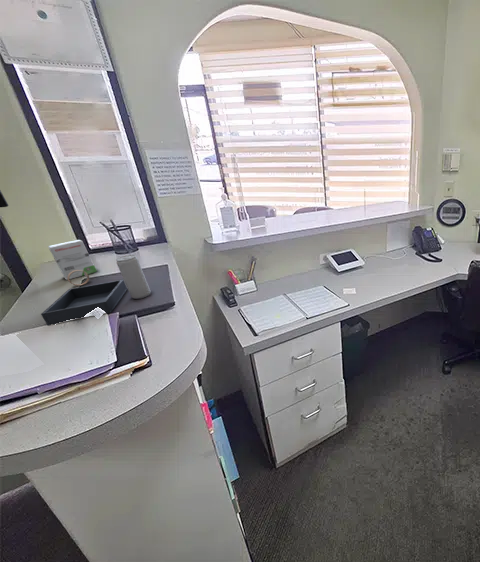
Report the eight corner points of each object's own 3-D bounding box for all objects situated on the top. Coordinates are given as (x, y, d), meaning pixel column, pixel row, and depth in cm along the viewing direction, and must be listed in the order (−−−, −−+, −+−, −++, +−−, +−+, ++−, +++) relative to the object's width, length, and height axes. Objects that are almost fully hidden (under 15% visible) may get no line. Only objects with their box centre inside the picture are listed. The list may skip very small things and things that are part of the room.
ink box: (94, 269, 114) (79, 238, 109) (97, 272, 111) (83, 240, 106) (63, 277, 108) (46, 245, 103) (66, 280, 105) (49, 247, 100)
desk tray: (47, 325, 78) (40, 314, 76) (74, 299, 91) (68, 288, 90) (111, 312, 82) (105, 301, 81) (127, 289, 96) (123, 279, 94)
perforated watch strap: (91, 282, 102) (85, 268, 100) (73, 288, 99) (66, 274, 97) (88, 281, 104) (82, 267, 102) (70, 286, 100) (63, 272, 98)
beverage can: (139, 300, 88) (122, 261, 83) (127, 298, 90) (111, 260, 85) (155, 293, 92) (140, 255, 87) (144, 291, 94) (129, 254, 89)
